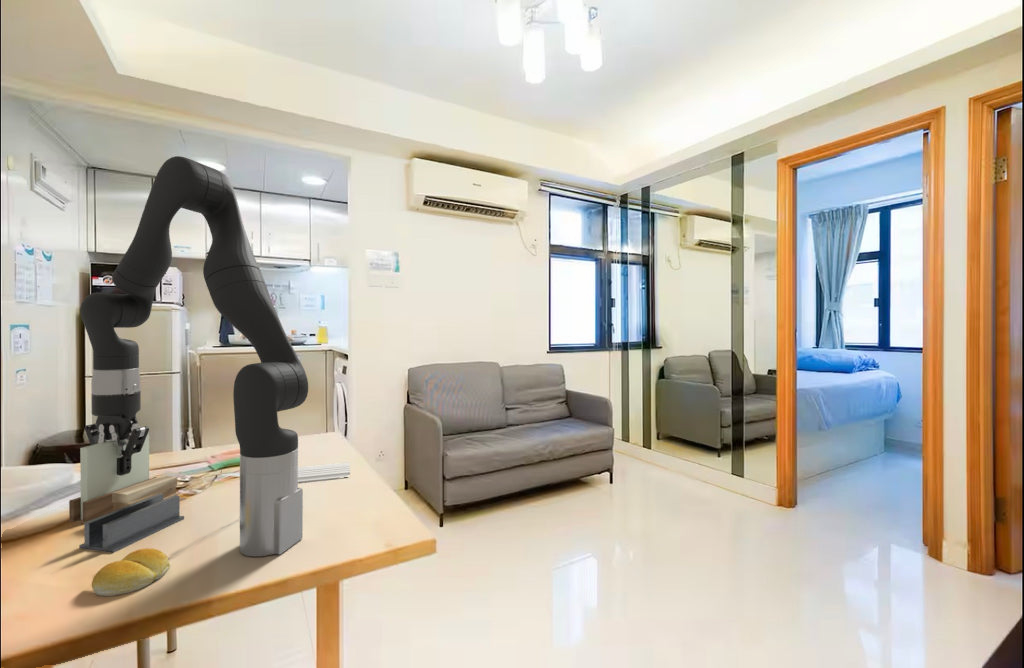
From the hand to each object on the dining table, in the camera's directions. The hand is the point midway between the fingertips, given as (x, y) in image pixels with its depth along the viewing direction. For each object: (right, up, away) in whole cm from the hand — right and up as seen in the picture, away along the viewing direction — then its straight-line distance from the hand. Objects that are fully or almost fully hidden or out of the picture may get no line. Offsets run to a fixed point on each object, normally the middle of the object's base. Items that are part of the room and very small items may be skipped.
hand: (117, 473), depth 90 cm
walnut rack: (+3, -9, 0) cm, 9 cm away
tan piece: (+7, -7, -1) cm, 10 cm away
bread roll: (+22, -10, -22) cm, 33 cm away
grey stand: (+13, -9, -10) cm, 19 cm away
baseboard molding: (+23, -9, +23) cm, 34 cm away
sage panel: (0, -7, 0) cm, 7 cm away
